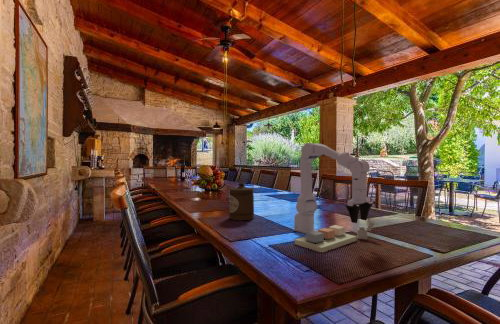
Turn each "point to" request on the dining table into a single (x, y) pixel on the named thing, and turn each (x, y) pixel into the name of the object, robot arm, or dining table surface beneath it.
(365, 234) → the lighter
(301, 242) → the panel
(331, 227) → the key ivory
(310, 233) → the key slate
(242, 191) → the wooden container
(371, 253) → the dining table surface
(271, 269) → the dining table surface
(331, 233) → the key terracotta
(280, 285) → the dining table surface
